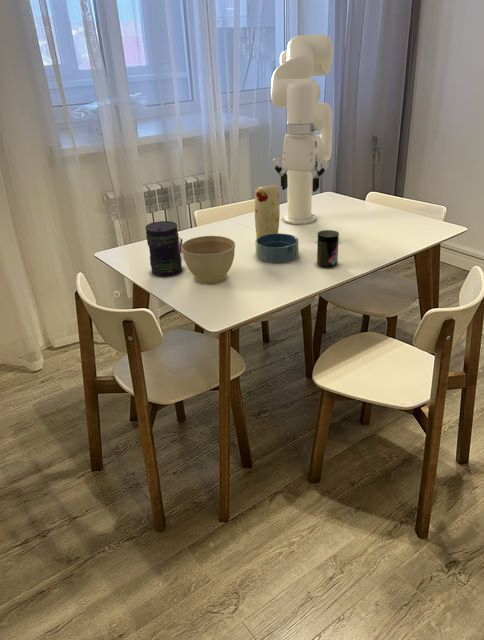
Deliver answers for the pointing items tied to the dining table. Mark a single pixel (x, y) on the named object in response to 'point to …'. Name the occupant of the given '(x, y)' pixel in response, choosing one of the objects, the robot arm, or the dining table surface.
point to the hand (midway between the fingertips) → (299, 189)
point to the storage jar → (164, 248)
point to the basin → (277, 247)
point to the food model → (267, 210)
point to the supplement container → (327, 248)
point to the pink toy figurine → (180, 244)
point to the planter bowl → (209, 257)
